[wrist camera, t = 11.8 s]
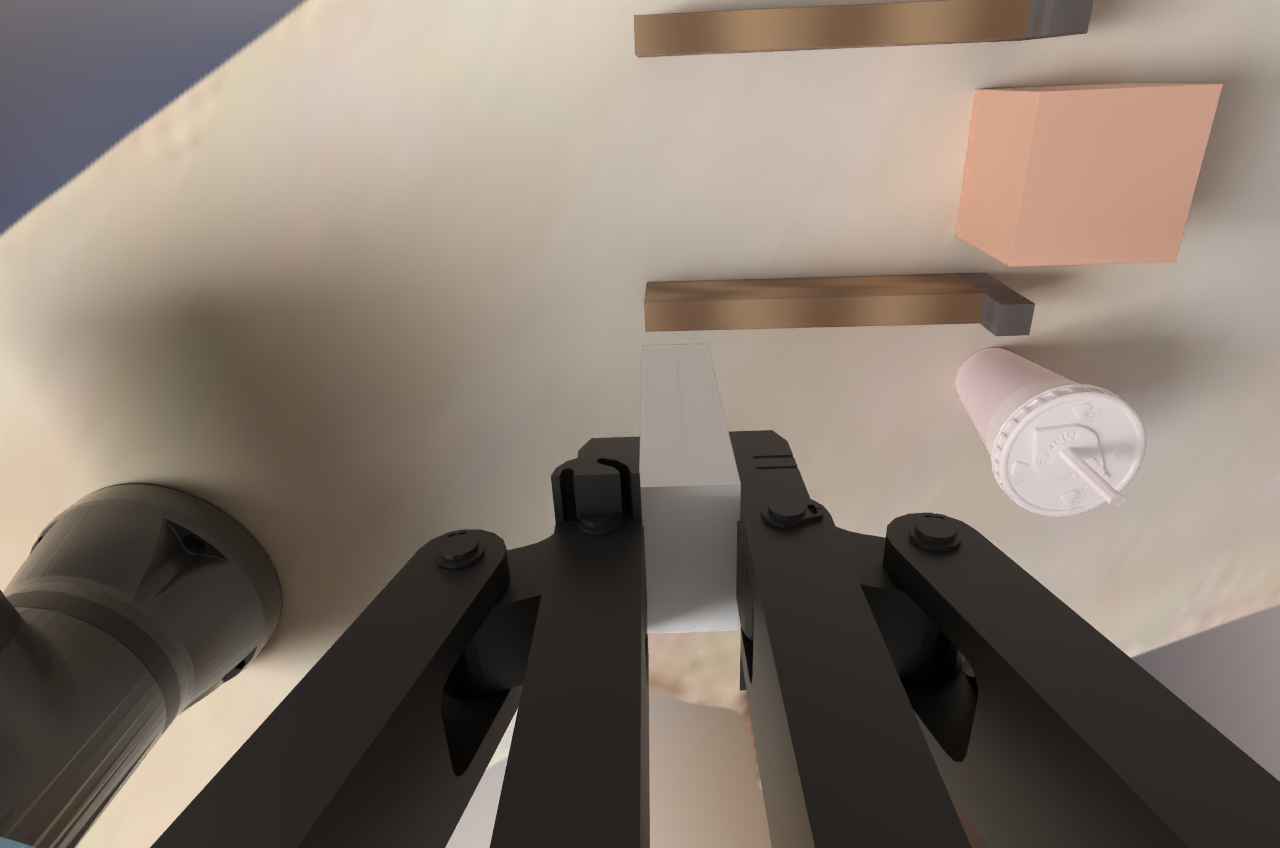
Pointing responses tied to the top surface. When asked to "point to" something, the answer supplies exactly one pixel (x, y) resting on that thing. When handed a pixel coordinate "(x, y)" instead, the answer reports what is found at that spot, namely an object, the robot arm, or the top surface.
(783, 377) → the top surface
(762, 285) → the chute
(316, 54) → the top surface
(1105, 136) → the block
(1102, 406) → the smoothie
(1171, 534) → the top surface
